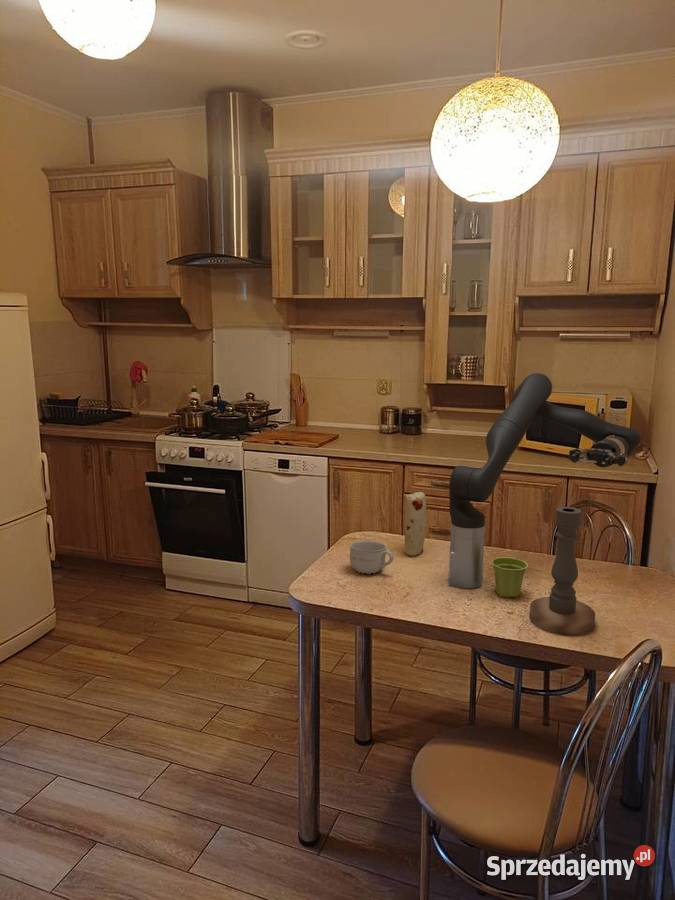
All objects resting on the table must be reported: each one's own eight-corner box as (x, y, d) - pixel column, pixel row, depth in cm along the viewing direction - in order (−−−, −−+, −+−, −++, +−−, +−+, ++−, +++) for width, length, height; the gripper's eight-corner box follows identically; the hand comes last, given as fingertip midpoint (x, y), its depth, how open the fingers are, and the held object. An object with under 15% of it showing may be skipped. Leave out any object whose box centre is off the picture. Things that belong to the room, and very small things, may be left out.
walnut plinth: (534, 633, 146) (535, 621, 146) (525, 606, 161) (525, 595, 160) (601, 637, 144) (602, 625, 144) (586, 609, 159) (587, 598, 158)
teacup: (342, 570, 185) (342, 544, 184) (367, 561, 193) (368, 536, 191) (375, 583, 175) (376, 556, 174) (401, 573, 182) (402, 547, 181)
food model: (419, 559, 194) (421, 497, 190) (399, 556, 197) (400, 494, 193) (428, 550, 203) (430, 490, 199) (409, 547, 205) (410, 488, 202)
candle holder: (577, 615, 148) (584, 514, 144) (550, 613, 150) (556, 513, 145) (573, 604, 154) (580, 507, 150) (547, 602, 156) (553, 506, 151)
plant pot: (498, 584, 175) (500, 554, 174) (531, 592, 170) (533, 562, 168) (484, 594, 168) (485, 564, 166) (518, 603, 162) (519, 572, 161)
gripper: (582, 436, 182) (563, 444, 169) (635, 441, 173) (619, 450, 160) (581, 461, 183) (561, 471, 170) (633, 468, 174) (616, 478, 162)
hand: (589, 460), depth 165 cm, fingers open, 8 cm apart
